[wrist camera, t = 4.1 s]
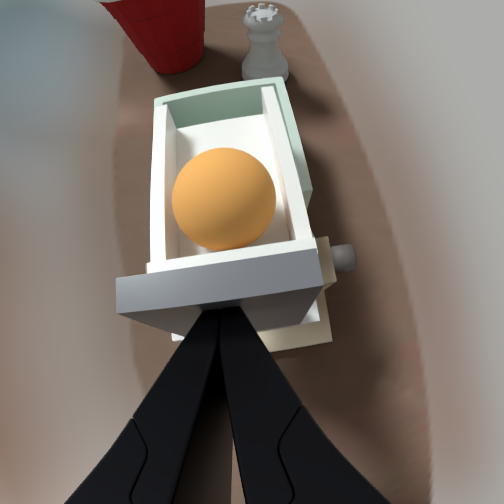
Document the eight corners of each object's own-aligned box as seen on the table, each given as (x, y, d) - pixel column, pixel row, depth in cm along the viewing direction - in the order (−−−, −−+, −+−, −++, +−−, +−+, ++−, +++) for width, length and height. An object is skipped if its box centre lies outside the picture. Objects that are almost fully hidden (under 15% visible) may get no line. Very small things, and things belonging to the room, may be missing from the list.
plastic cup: (231, 25, 29) (219, -60, 17) (223, 86, 27) (202, -20, 15) (143, 35, 30) (114, -39, 18) (119, 97, 27) (69, 13, 16)
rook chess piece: (298, 78, 26) (303, 13, 19) (261, 98, 26) (257, 31, 18) (268, 56, 27) (267, -7, 20) (232, 74, 27) (222, 10, 19)
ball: (238, 282, 13) (223, 251, 9) (169, 230, 14) (135, 186, 10) (294, 211, 14) (299, 158, 10) (224, 168, 15) (209, 111, 11)
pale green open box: (302, 224, 23) (312, 189, 17) (181, 242, 23) (154, 215, 17) (280, 125, 25) (282, 76, 19) (175, 142, 25) (154, 98, 19)
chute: (317, 322, 13) (361, 278, 6) (176, 341, 13) (86, 316, 6) (274, 120, 17) (269, 12, 10) (169, 138, 17) (127, 40, 10)
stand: (331, 340, 21) (371, 347, 12) (187, 360, 21) (135, 379, 12) (313, 235, 23) (337, 180, 14) (175, 257, 23) (123, 215, 14)
